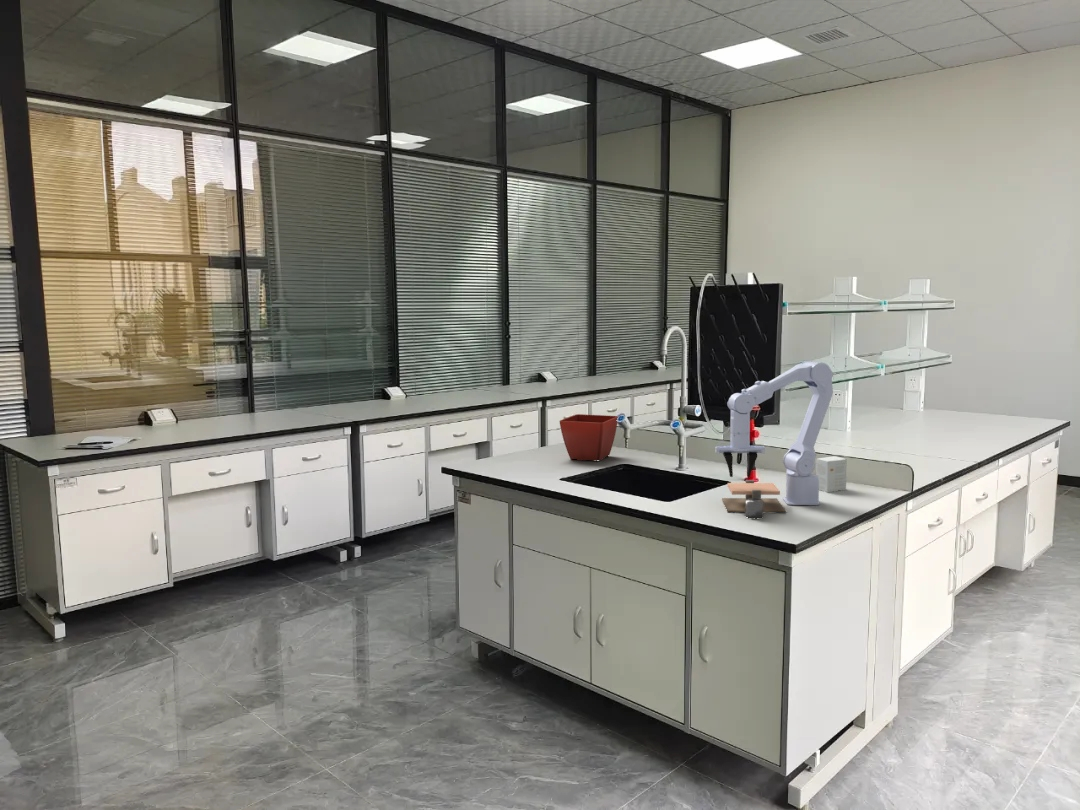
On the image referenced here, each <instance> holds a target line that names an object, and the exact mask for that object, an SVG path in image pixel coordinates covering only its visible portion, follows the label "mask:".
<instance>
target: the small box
mask: <svg viewBox="0 0 1080 810" xmlns="http://www.w3.org/2000/svg"><path fill="white" fill-rule="evenodd" d="M847 466H848V465H847V458H844V457H839V456H834V455H833V456H827V457H825V456H824V457H820V458H819V457H818V458H815V473H816V474H815V475H817V476H818V480H819V491H821V490H822V491H821V492H824V491H825V492H824V493H832V492H831V491H834V492H839V491H838V490H841V491H845V489H846V490H847Z"/></svg>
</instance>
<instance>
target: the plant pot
mask: <svg viewBox="0 0 1080 810" xmlns="http://www.w3.org/2000/svg"><path fill="white" fill-rule="evenodd" d="M617 418H618V419H619V416H618V415H607V414H606V415H605V414H604V415H601V414H586V413H585V414H584V413H583V414H580V413H579V414H574V415H570V416H569V417H565V418H564V419H560V420H559V426H560V431H561V435H562V439H563V443H564V445H565V448H566V451H567V453H568V454H567V455H568V456H569V459H570V460H571V459H577V460H576V461H582V460H601V459H602V458H604V457H606V456H608V455H609V456H610V454H611V451H612V449H613V445H614V441H615V436H616V432H617V427H618V422H617V421H616V420H617ZM609 456H608V457H609ZM606 458H607V457H606ZM604 459H605V458H604ZM602 460H603V459H602ZM602 460H601V461H602Z"/></svg>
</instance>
